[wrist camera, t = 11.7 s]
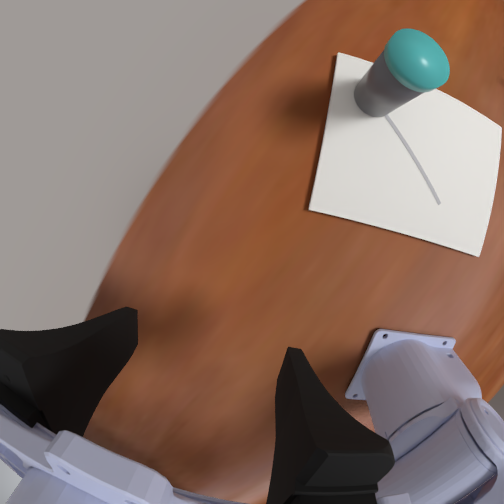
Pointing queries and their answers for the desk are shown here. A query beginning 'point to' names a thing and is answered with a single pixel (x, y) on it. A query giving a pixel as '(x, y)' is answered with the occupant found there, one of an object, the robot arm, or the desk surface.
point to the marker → (402, 73)
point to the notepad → (408, 164)
